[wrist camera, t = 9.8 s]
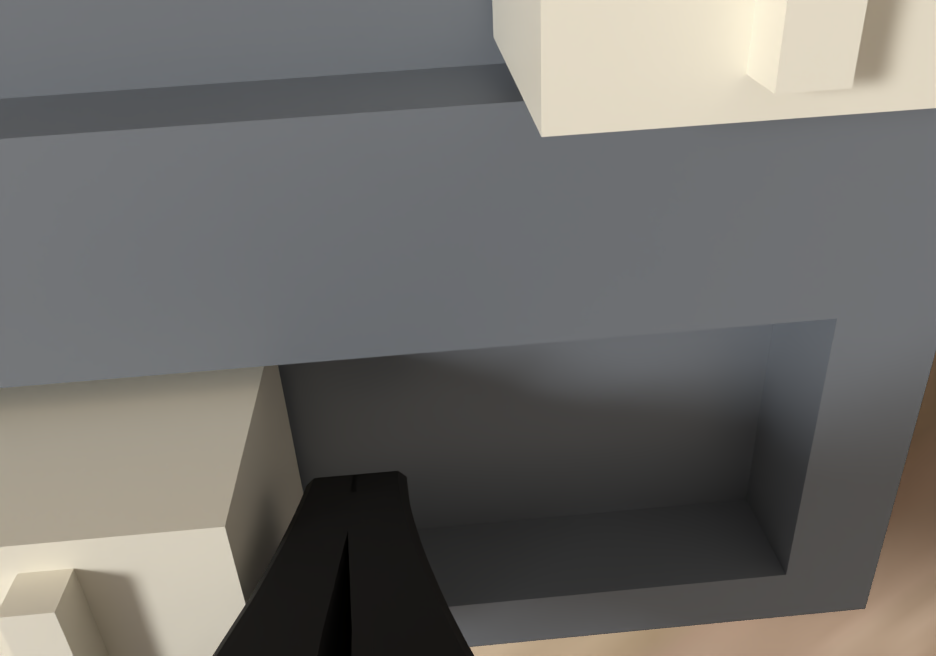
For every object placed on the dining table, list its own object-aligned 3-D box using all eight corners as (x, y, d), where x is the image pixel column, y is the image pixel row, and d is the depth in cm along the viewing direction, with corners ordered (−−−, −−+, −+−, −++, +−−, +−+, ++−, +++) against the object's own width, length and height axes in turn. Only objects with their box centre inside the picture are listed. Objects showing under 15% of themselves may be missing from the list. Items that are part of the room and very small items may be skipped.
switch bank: (781, 547, 18) (850, 675, 15) (2, 620, 17) (-70, 767, 14) (1030, -757, 8) (1323, -1028, 6) (-640, -700, 8) (-1171, -974, 5)
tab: (310, 534, 14) (279, 798, 10) (74, 555, 14) (-48, 831, 10) (272, 334, 12) (213, 569, 8) (-5, 356, 12) (-196, 606, 8)
